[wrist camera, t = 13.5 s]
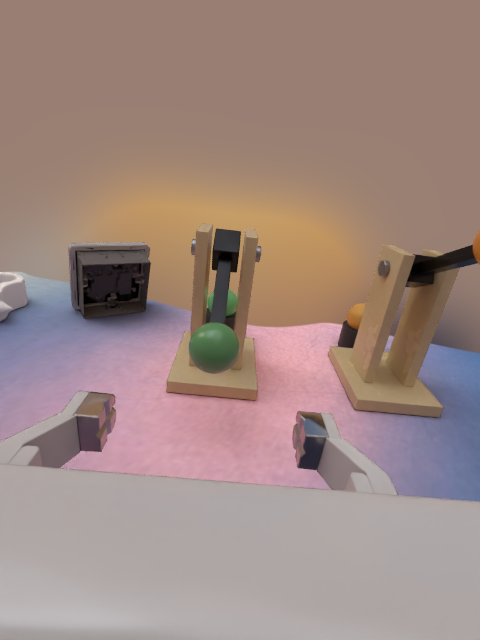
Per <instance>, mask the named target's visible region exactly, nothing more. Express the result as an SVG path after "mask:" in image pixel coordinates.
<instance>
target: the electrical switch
mask: <svg viewBox="0 0 480 640" xmlns="http://www.w3.org/2000/svg"><path fill="white" fill-rule="evenodd" d="M68 251H69V269H70V287H71V301H72V306H73V308H74V309H75V310H81V312H82V313H83V317H84V319H86V318H94V317H102V316H110V315H118V314H127V313H135V312H143V311H144V310H145V308H146V300H147V290H148V282H149V273H150V264H151V263H150V261H149V260H148V257H149V254H150V248H149V247H148V246H147V245H146V244H145V243H144V242H134V243H133V242H124V243H121V242H120V243H72V244H71V245H69V247H68ZM119 305H120V306H121V309H120V307H119ZM135 305H136V306H135ZM109 306H116V308H114V309H112V308H109ZM105 307H106V308H107V309H106V308H105ZM143 308H144V309H143Z"/></svg>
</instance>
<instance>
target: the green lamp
mask: <svg viewBox="0 0 480 640" xmlns="http://www.w3.org/2000/svg"><path fill="white" fill-rule="evenodd" d="M213 296H214V291H213V292H212V293H211V295H210V296H209V298H208V308H207V310H206V323H205V324H207V323H210V317H211V310H212V303H213ZM236 306H237V297H236V295H235V294H234V293H233V292H232V291H231V290H228V300H227V309H226V319H225V325H227V326H229V327H230V328H231V329H232V330H233V331H234V323H235V314H236Z"/></svg>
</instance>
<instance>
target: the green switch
mask: <svg viewBox="0 0 480 640" xmlns="http://www.w3.org/2000/svg"><path fill="white" fill-rule="evenodd" d="M240 235H241V232H240V231H233V230H224V229H216V232H215V239H214V245H213V257H212V258H213V259H212V270H217V274H216V282H215V289H214V296H213V303H212V310H211V317H210V323H207V324H204V325H202V326H200V327H199V328H198V329H197V330H196V331H195V332H194V333H193V335H192V336H191V339H190V342H189V355H190V358H191V360H192V362H193V363H194V365H195V366H196V367H197V368H199V369H200V370H202V371H204V372H206V373H211V374H218V373H222V372H225V371H227V370H228V369H230V368H231V367H232V366H233V365H234V364H235V362H236V361H237V359H238V357H239V353H240V343H239V339H238V337H237V335H236V333H235V332H234V331H233V330H232V329H231V328H230V327H229V326H227V325H225V319H226V309H227V300H228V290H229V281H230V272H237V266H238V265H237V264H238V257H239V248H240Z"/></svg>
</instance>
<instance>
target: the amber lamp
mask: <svg viewBox="0 0 480 640" xmlns="http://www.w3.org/2000/svg"><path fill="white" fill-rule="evenodd" d="M365 305H366V304H365V303H361V304H357V305H355V306H353V307H352V308H351V309H350V310H349V312H348V314H347V320H346V321H345V322H344V323H343V326H342V330H341V334H340V338H339V341H338V346H339V347H344V348H353V347H354V343H355V340H356V336H357V333H358V329H359V326H360V322H361V319H362V315H363V312H364V308H365Z"/></svg>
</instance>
